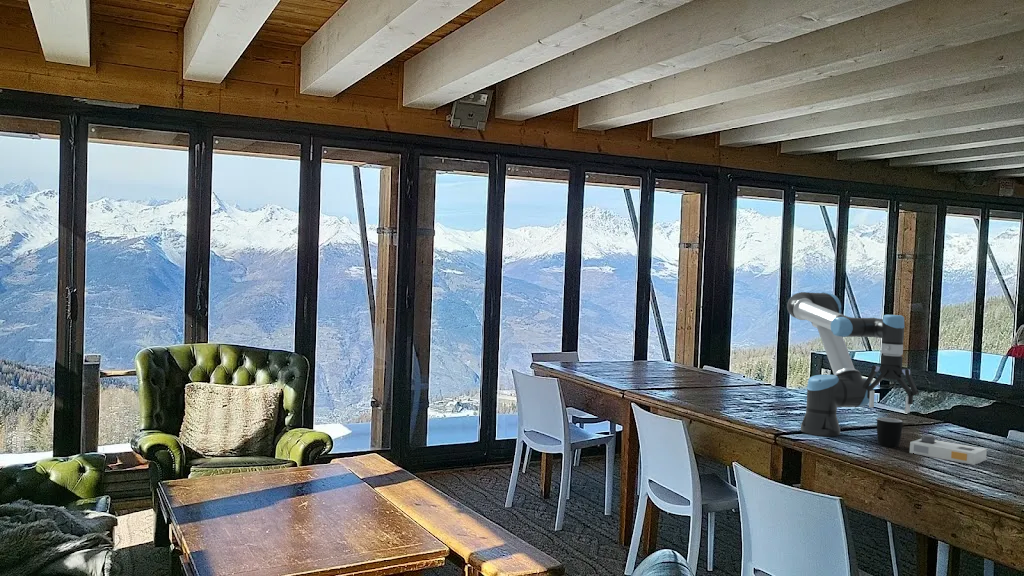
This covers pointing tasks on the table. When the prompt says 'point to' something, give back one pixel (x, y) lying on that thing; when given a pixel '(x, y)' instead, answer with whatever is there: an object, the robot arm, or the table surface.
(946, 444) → the white rectangular box
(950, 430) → the table surface
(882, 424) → the mug
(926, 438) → the dark grey rounded piece
